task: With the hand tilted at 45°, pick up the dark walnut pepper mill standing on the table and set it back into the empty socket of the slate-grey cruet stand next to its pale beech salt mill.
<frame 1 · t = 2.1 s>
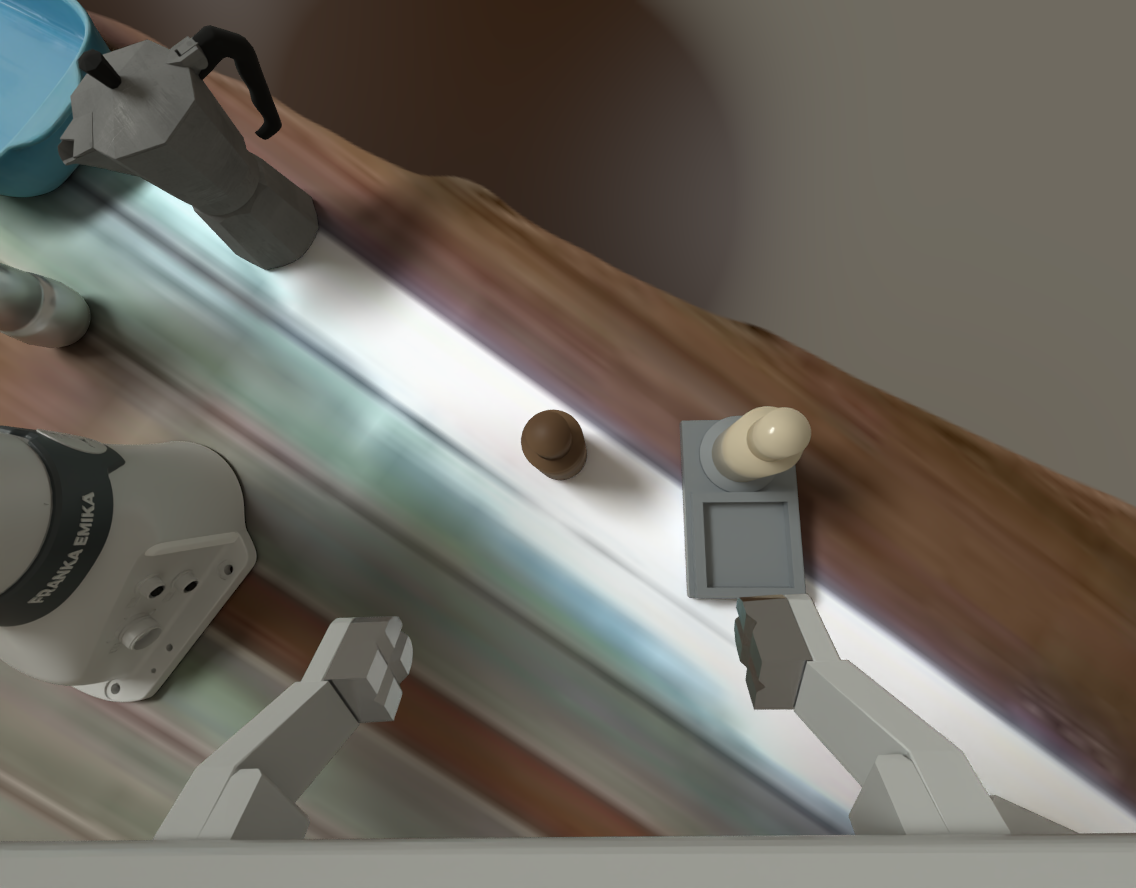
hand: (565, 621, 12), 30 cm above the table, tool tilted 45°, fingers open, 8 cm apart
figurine: (990, 838, 36), on the table
cruet stand: (737, 506, 41), on the table
casserole dish: (8, 100, 54), on the table
plastic bottle: (74, 324, 48), on the table
coffeepot: (286, 222, 48), on the table
pepper mill: (560, 453, 42), on the table
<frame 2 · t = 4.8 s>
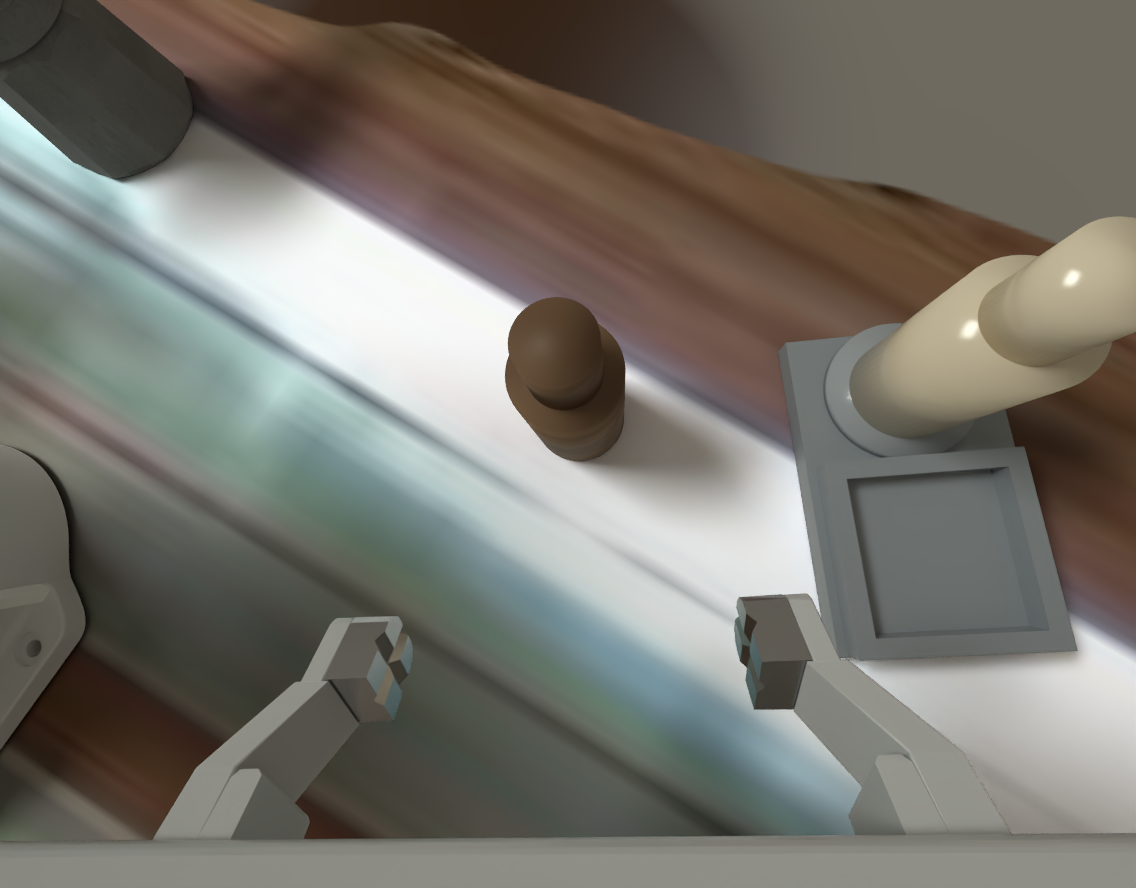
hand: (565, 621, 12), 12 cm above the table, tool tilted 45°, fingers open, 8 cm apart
cruet stand: (899, 485, 23), on the table
coffeepot: (148, 113, 33), on the table
pepper mill: (579, 417, 25), on the table
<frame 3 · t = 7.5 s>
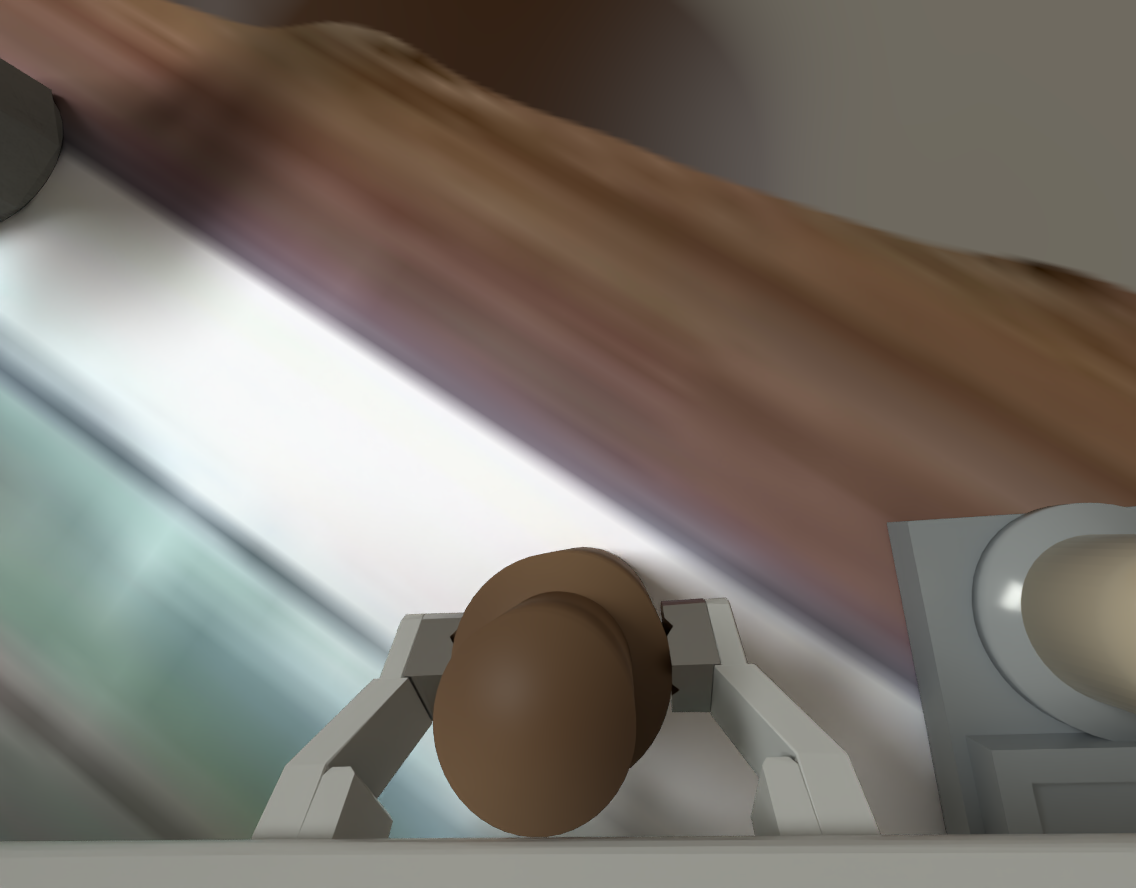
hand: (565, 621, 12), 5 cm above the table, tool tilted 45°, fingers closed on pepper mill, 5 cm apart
cruet stand: (1093, 756, 14), on the table
coffeepot: (7, 144, 24), on the table
pepper mill: (584, 614, 17), on the table, touching gripper
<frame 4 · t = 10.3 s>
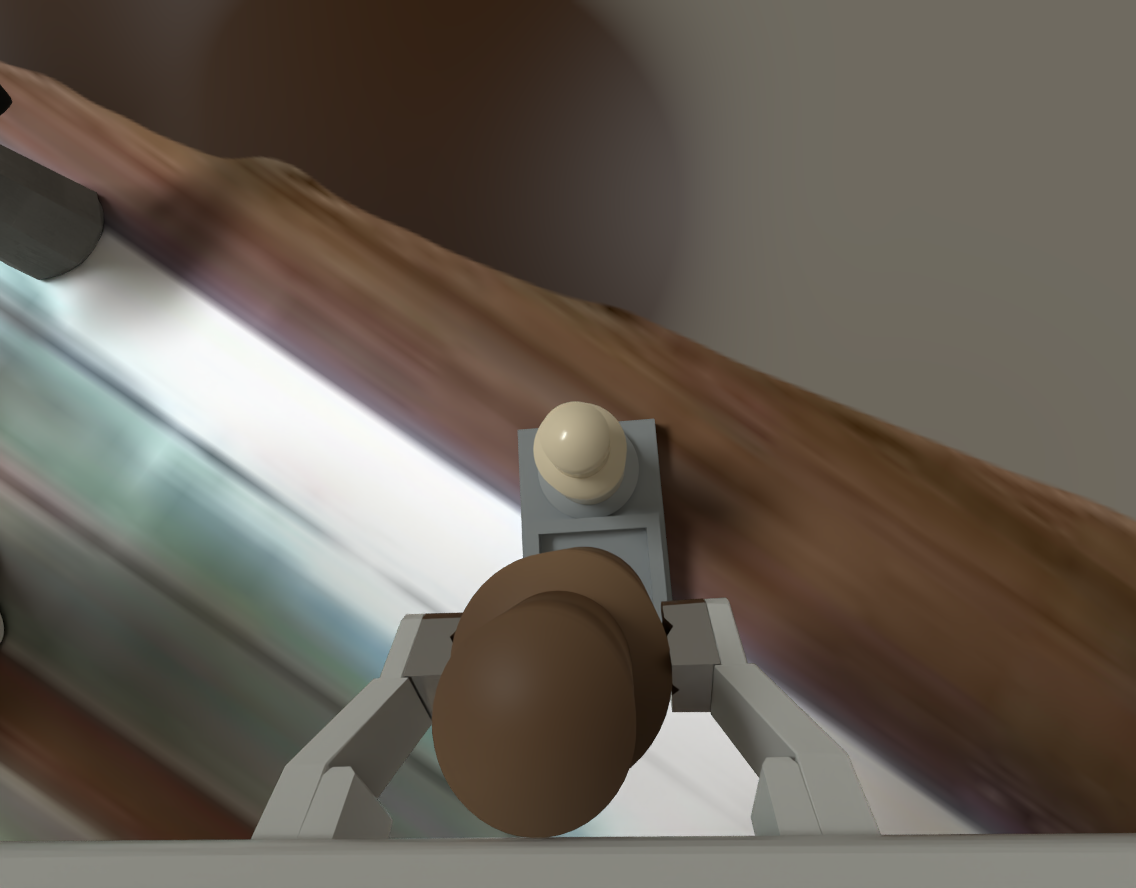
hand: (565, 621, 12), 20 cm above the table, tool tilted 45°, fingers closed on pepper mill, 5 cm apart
cruet stand: (593, 535, 32), on the table
coffeepot: (69, 224, 41), on the table
pepper mill: (584, 614, 17), point 15 cm above the table, touching gripper
when the fingers open (8 cm above the table, at t = 13.5 s): pepper mill drops 1 cm, resting on cruet stand.
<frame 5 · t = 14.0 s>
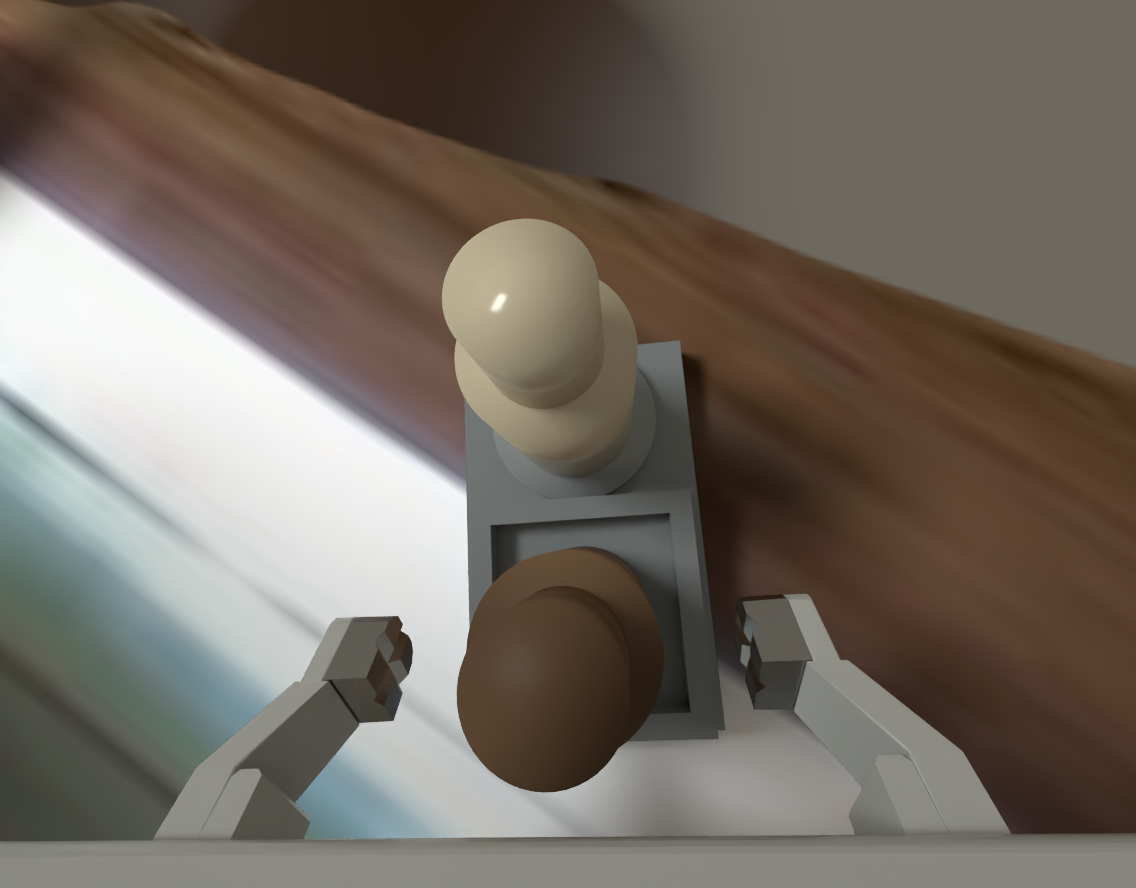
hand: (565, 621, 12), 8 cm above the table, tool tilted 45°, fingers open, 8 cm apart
cruet stand: (583, 528, 20), on the table
pepper mill: (585, 609, 18), point 1 cm above the table, touching cruet stand
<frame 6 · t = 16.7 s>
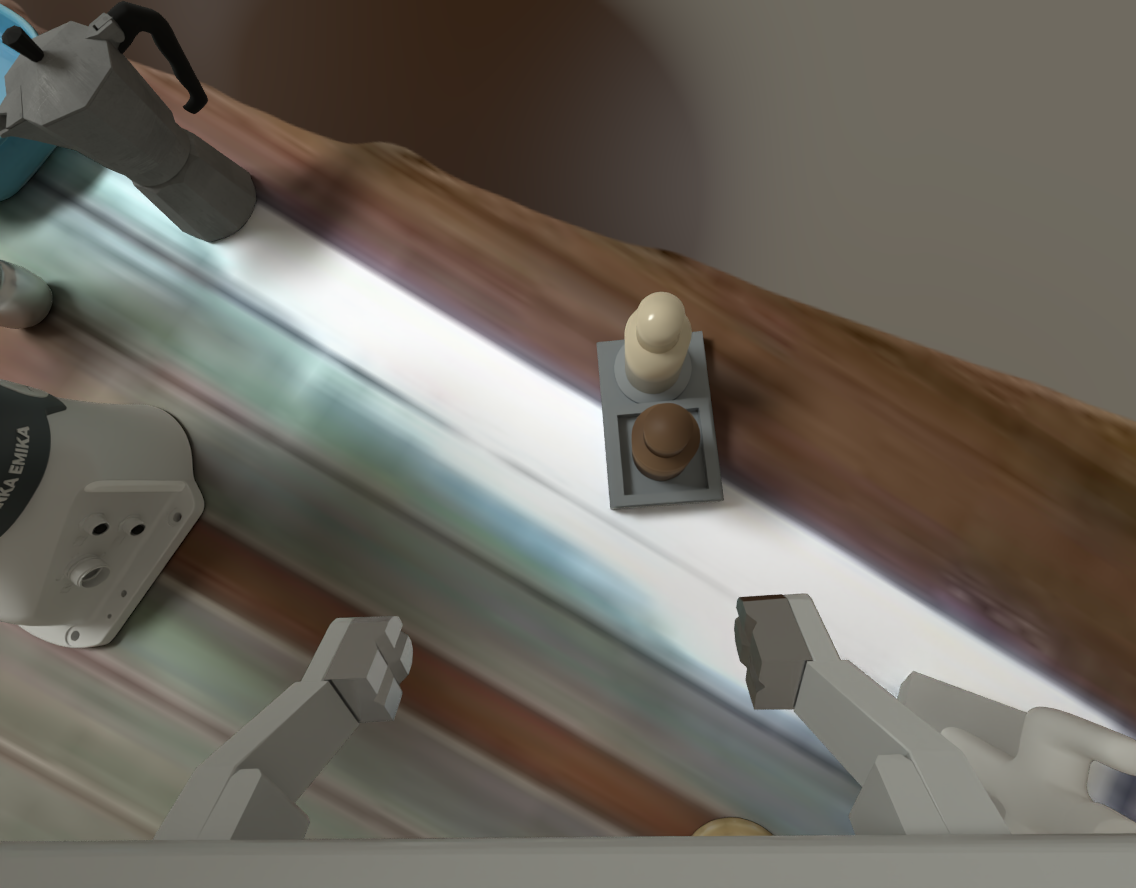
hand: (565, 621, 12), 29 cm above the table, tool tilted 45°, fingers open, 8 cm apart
hand bell: (736, 879, 35), on the table
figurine: (923, 725, 35), on the table
cruet stand: (656, 421, 41), on the table
plastic bottle: (39, 307, 52), on the table
coffeepot: (228, 198, 52), on the table
pepper mill: (660, 453, 40), point 1 cm above the table, touching cruet stand
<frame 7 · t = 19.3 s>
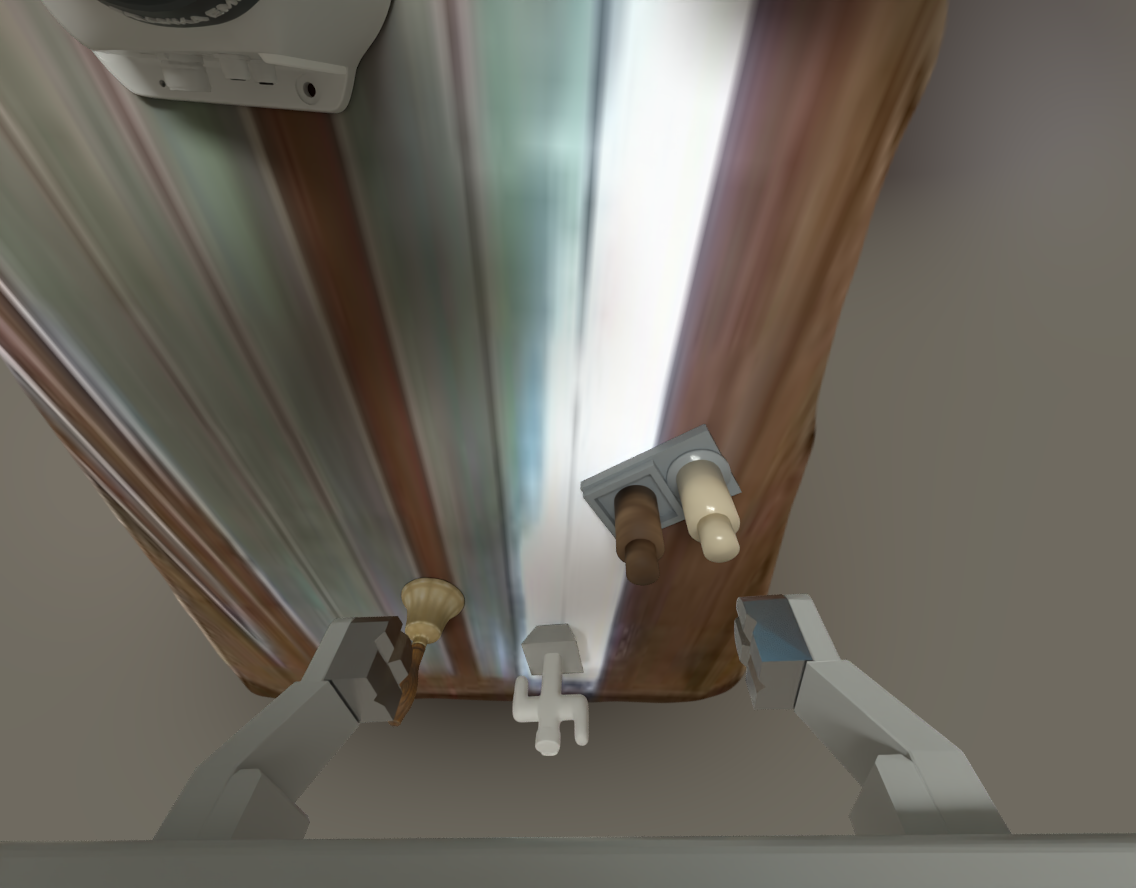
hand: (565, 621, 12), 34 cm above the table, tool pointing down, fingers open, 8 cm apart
hand bell: (433, 596, 64), on the table
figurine: (554, 633, 68), on the table
cruet stand: (659, 483, 52), on the table
pepper mill: (635, 501, 52), point 1 cm above the table, touching cruet stand
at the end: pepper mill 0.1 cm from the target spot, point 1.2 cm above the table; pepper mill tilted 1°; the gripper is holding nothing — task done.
